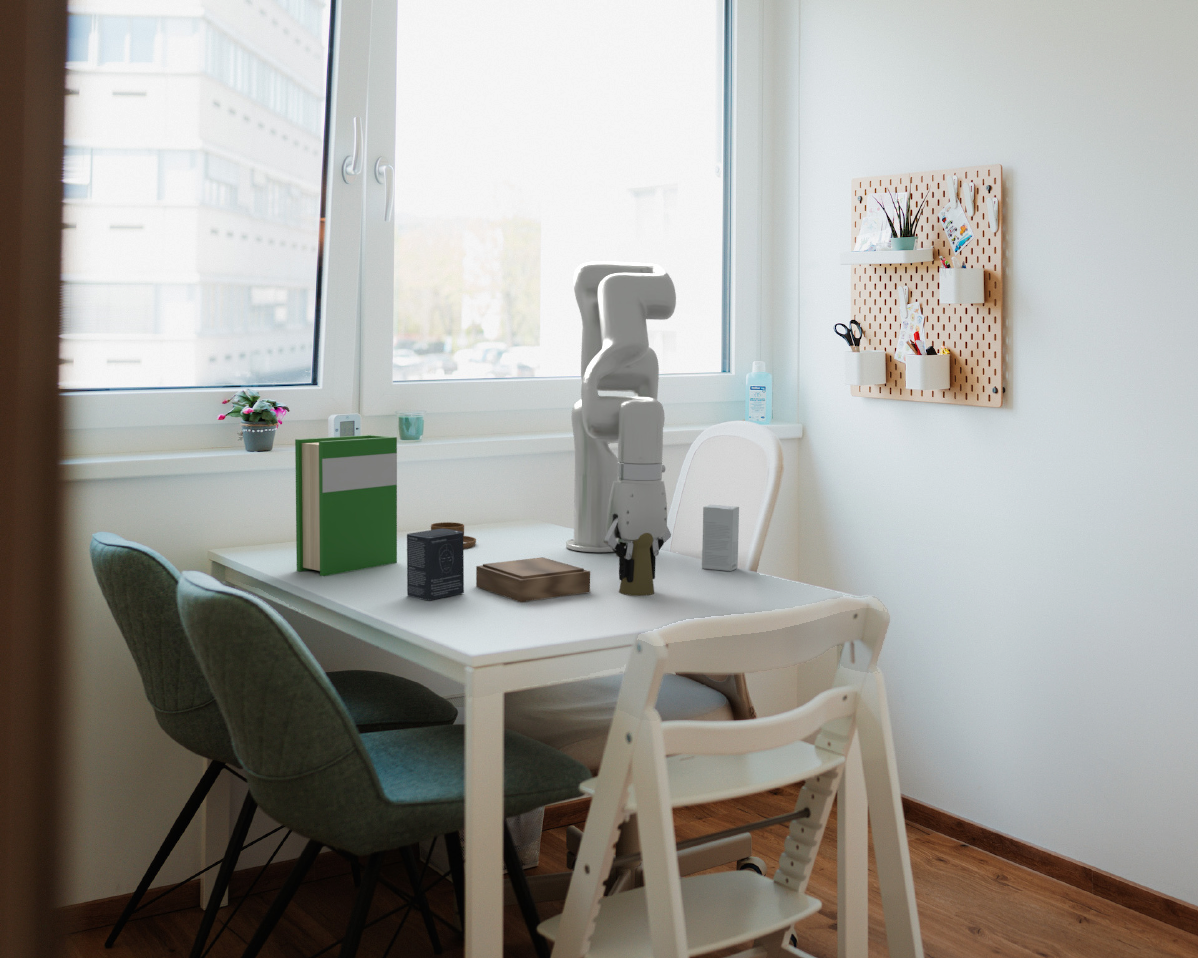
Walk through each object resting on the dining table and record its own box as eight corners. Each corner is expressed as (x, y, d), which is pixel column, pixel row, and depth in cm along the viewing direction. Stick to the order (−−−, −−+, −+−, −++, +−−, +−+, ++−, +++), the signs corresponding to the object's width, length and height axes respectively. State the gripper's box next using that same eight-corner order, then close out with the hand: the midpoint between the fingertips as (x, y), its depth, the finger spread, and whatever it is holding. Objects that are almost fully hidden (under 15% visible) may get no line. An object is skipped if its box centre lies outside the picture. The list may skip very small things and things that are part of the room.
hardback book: (323, 576, 193) (322, 441, 190) (296, 570, 197) (295, 439, 194) (396, 562, 207) (396, 437, 204) (370, 557, 211) (370, 435, 208)
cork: (651, 596, 181) (653, 531, 180) (616, 594, 182) (617, 530, 181) (656, 589, 187) (658, 526, 186) (622, 587, 188) (623, 524, 187)
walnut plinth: (543, 578, 195) (543, 556, 194) (589, 592, 184) (590, 569, 183) (476, 586, 186) (476, 563, 186) (520, 602, 175) (520, 577, 175)
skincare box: (738, 568, 208) (740, 506, 207) (731, 571, 204) (733, 509, 203) (708, 565, 211) (710, 504, 209) (700, 568, 207) (702, 506, 205)
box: (441, 589, 184) (442, 527, 183) (464, 594, 181) (465, 531, 179) (405, 596, 178) (405, 532, 177) (428, 601, 175) (428, 536, 173)
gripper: (662, 468, 191) (660, 571, 193) (586, 473, 181) (584, 581, 183) (691, 472, 185) (688, 578, 187) (614, 477, 175) (611, 589, 177)
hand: (637, 578), depth 185 cm, fingers closed on cork, 4 cm apart
